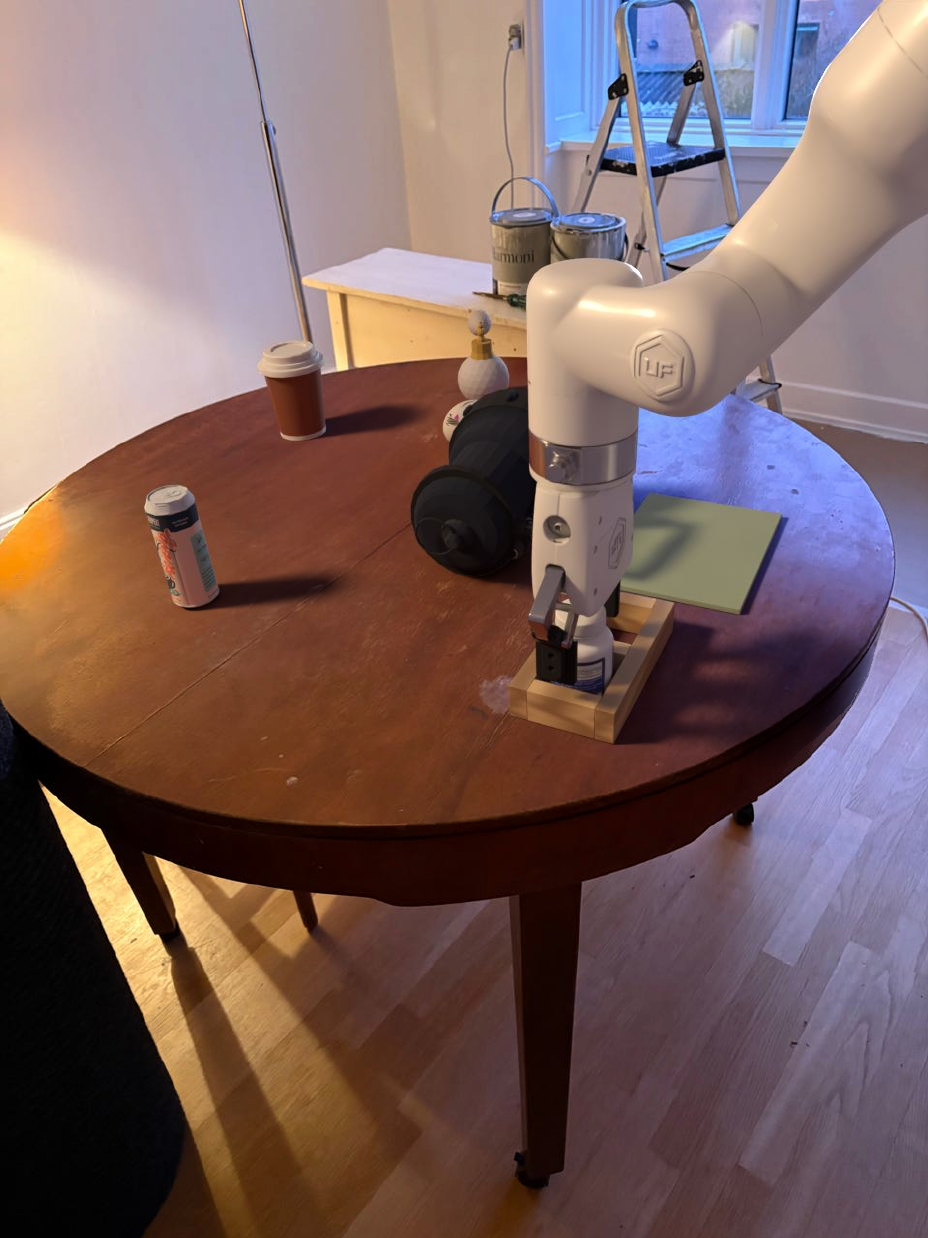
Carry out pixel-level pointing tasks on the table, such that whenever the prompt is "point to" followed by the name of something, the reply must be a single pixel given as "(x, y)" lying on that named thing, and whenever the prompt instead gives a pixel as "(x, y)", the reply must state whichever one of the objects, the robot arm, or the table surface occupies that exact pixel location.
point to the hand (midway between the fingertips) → (579, 644)
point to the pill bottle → (591, 652)
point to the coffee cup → (295, 388)
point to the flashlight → (480, 490)
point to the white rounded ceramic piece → (454, 418)
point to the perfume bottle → (481, 362)
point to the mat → (697, 551)
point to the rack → (629, 677)
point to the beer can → (181, 545)
